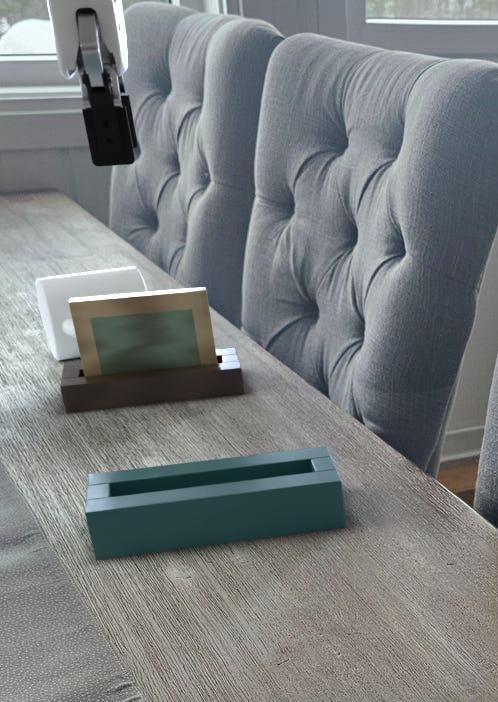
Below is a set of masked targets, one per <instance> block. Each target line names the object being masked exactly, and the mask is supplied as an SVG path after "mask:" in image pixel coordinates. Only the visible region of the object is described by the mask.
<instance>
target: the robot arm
mask: <svg viewBox="0 0 498 702" xmlns="http://www.w3.org/2000/svg"><path fill="white" fill-rule="evenodd" d="M46 3H47V9H48V13H49V14H48V15H49V18H50V19H49V20H50V26H51V30H52V35H53V41H54V47H55V53H56V58H57V64H58V71H59V74H60V76H62V77H64V79H66V80H71V79H73V77H74V76H76V75H77V72H78V79H79V85H80V86H79V87H80V93H81V100H82V105H83V108H81V112H82V118H83V122H84V127H85V133H86V138H87V143H88V148H89V152H90V158H91V162H92V164H93V166H95V167H112V166H113V167H115V166H127V165H129V166H130V165H133V164H134V163H135V161H136V157H135V150H134V149H136V148H137V147H138V137H137V130H136V126H135V121H134V115H133V109H132V104H131V97H130V94H127V90H126V84H125V79H124V74H125V72H127V70H128V67H129V61H128V44H127V31H126V22H125V14H124V7H123V0H46Z"/></svg>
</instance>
